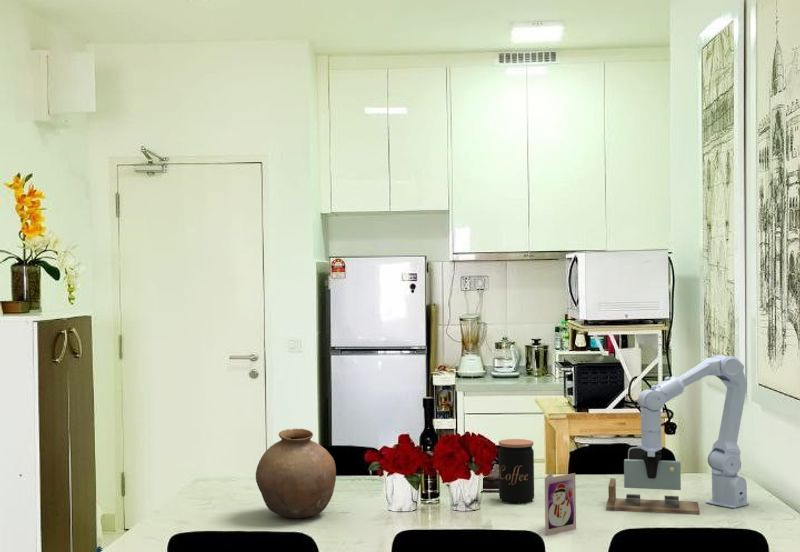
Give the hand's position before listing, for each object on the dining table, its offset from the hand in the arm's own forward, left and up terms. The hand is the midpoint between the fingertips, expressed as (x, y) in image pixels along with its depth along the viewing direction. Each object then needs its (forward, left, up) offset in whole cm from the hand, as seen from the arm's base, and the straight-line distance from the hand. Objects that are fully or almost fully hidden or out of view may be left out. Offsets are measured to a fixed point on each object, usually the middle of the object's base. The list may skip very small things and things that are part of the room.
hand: (651, 477), depth 289 cm
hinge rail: (0, 0, -9) cm, 9 cm away
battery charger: (+27, -28, -9) cm, 40 cm away
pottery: (+60, +85, -9) cm, 104 cm away
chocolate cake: (+57, +12, -10) cm, 59 cm away
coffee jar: (+33, +23, -9) cm, 41 cm away
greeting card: (+1, +41, -9) cm, 42 cm away
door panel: (0, 0, -3) cm, 3 cm away
